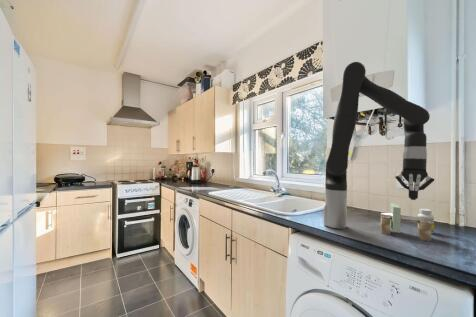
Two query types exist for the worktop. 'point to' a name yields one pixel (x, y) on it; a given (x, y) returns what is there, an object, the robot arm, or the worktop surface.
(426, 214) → the supplement bottle
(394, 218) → the collar
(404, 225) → the worktop surface
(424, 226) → the pipe stand
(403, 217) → the metal pipe
